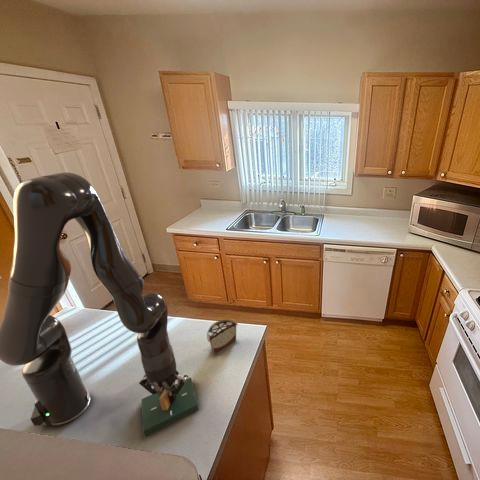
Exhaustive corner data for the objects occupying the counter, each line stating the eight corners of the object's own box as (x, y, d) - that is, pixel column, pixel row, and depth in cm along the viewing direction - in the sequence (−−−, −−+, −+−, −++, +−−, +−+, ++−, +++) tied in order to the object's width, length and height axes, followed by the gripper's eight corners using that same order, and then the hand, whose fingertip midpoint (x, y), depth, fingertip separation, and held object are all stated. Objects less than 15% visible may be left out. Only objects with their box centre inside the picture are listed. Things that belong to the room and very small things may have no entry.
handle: (167, 410, 76) (163, 398, 73) (162, 410, 75) (158, 398, 73) (175, 393, 81) (173, 381, 78) (171, 393, 80) (168, 381, 78)
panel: (144, 436, 71) (142, 430, 70) (143, 403, 79) (141, 398, 78) (198, 409, 79) (197, 403, 78) (191, 382, 87) (190, 377, 86)
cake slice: (230, 332, 109) (228, 314, 105) (239, 340, 105) (237, 321, 101) (203, 349, 100) (199, 329, 96) (211, 358, 96) (208, 338, 92)
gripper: (124, 370, 67) (139, 413, 74) (177, 370, 68) (186, 412, 75) (141, 348, 74) (153, 389, 81) (189, 348, 75) (197, 389, 82)
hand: (169, 400), depth 78 cm, fingers closed
